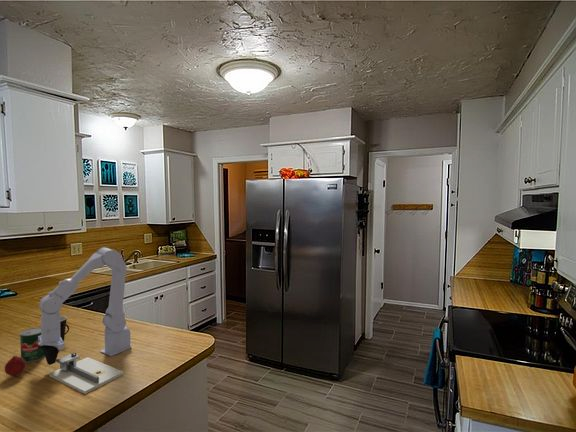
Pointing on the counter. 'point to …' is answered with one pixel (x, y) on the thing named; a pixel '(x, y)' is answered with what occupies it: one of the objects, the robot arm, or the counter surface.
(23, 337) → the canned tomato
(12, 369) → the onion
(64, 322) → the coffee mug
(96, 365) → the rail board
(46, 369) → the counter surface
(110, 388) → the counter surface
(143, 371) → the counter surface
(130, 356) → the counter surface
